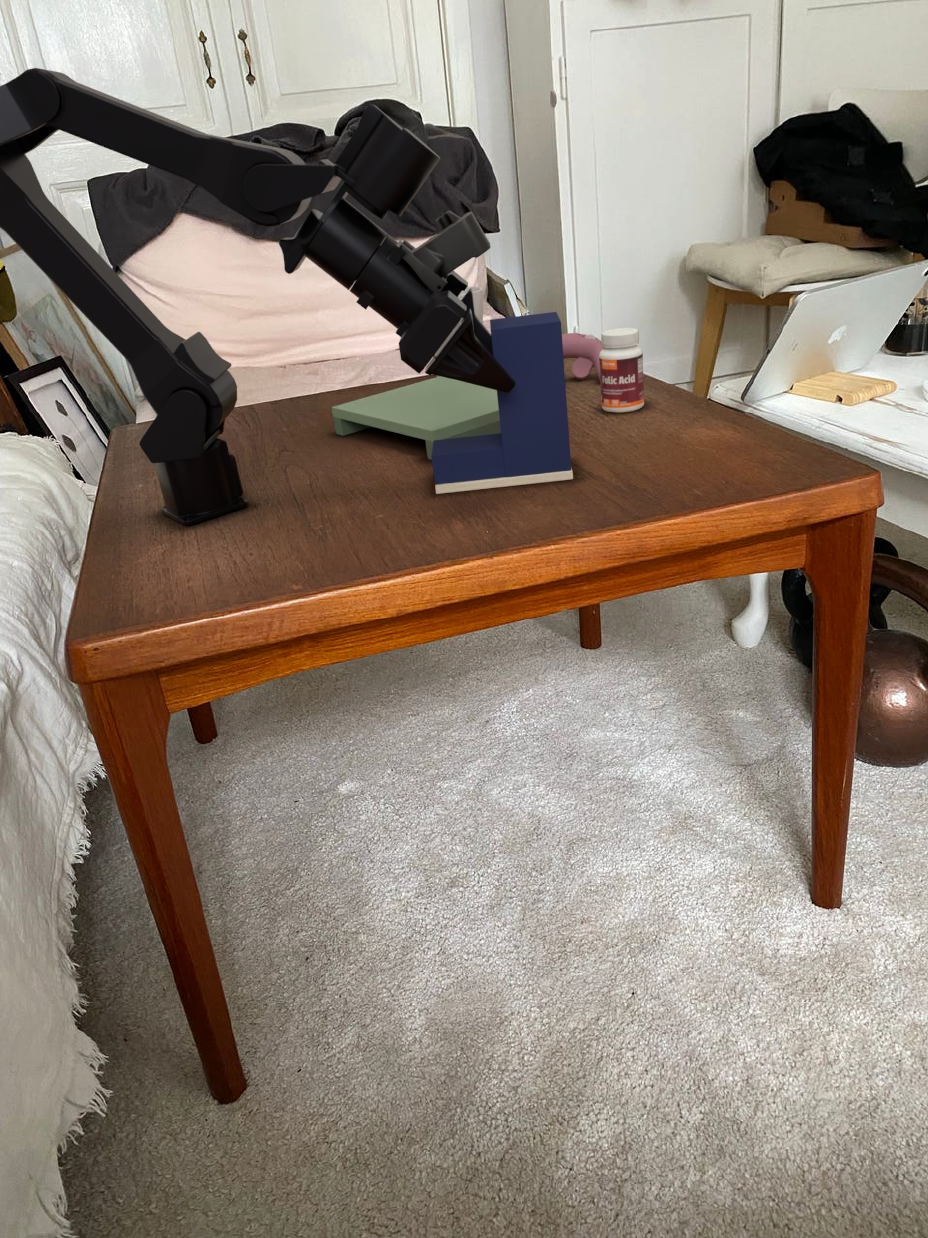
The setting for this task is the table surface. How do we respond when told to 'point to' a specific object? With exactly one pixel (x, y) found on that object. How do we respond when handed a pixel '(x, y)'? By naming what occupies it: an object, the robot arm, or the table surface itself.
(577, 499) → the table surface
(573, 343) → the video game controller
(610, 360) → the pill bottle
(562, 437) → the boot
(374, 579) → the table surface
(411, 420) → the shoe shelf
